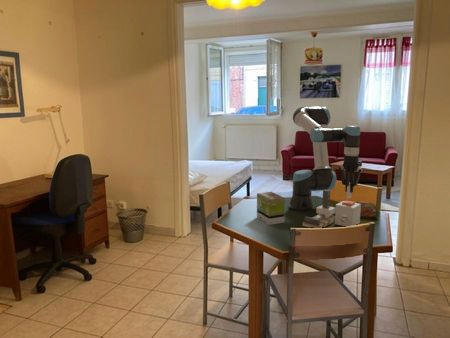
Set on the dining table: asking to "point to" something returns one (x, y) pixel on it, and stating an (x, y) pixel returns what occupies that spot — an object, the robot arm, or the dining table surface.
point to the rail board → (322, 223)
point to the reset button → (348, 203)
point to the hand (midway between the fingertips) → (348, 197)
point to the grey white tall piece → (326, 205)
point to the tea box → (270, 207)
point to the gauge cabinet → (347, 214)
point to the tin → (367, 209)
